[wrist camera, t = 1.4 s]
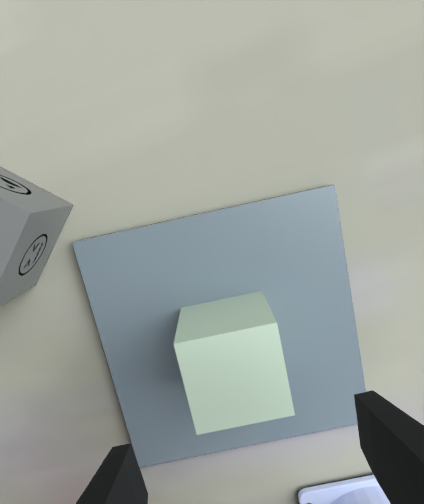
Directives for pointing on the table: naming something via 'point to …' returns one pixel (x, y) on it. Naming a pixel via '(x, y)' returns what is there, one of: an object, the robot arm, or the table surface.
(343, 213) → the table surface
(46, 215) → the dice cube
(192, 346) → the sage brick
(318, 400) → the plate
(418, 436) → the robot arm
